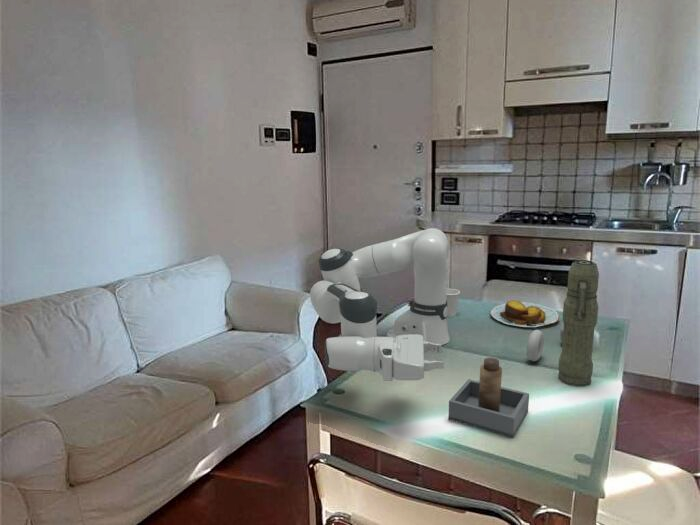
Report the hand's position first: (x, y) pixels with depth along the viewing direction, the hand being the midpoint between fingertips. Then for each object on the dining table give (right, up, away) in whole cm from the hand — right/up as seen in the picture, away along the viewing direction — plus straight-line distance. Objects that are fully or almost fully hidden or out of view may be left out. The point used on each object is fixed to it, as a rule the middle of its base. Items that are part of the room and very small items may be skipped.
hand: (442, 356), depth 123 cm
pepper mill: (+12, -15, +2) cm, 19 cm away
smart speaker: (+53, -5, +44) cm, 69 cm away
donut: (+36, -8, +34) cm, 50 cm away
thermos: (+42, -11, +21) cm, 48 cm away
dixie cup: (+17, +2, +78) cm, 80 cm away
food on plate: (+46, +1, +72) cm, 85 cm away
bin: (+12, -15, +2) cm, 20 cm away
